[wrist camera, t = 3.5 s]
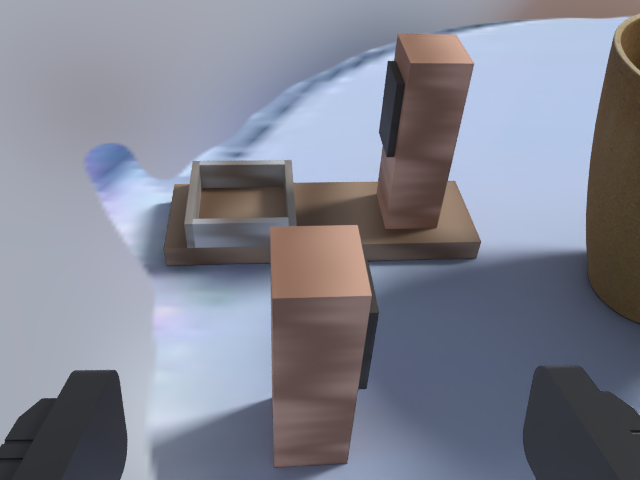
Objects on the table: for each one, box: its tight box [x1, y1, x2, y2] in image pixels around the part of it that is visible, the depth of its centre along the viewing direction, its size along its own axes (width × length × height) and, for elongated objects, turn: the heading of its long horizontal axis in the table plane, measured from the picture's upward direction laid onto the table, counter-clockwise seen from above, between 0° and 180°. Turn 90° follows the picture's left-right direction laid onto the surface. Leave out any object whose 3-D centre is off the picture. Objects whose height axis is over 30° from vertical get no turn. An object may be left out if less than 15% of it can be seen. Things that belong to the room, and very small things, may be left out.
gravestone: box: [164, 34, 481, 265], centre depth 39 cm, size 21×7×14 cm, turn 95°
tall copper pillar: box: [270, 225, 379, 467], centre depth 27 cm, size 4×4×12 cm
